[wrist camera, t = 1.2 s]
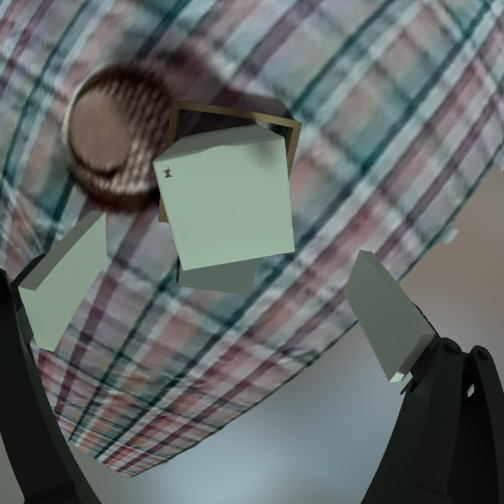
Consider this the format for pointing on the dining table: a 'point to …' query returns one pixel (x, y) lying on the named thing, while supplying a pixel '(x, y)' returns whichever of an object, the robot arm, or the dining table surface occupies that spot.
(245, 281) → the coaster
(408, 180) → the dining table surface
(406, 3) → the dining table surface
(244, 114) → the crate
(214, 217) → the supplement box
